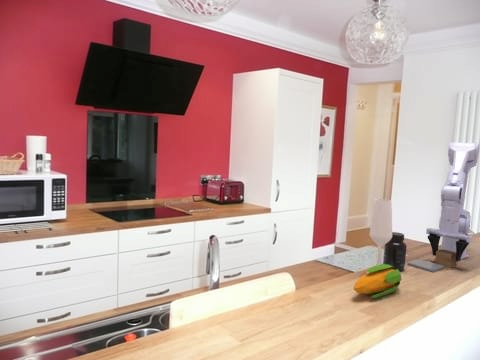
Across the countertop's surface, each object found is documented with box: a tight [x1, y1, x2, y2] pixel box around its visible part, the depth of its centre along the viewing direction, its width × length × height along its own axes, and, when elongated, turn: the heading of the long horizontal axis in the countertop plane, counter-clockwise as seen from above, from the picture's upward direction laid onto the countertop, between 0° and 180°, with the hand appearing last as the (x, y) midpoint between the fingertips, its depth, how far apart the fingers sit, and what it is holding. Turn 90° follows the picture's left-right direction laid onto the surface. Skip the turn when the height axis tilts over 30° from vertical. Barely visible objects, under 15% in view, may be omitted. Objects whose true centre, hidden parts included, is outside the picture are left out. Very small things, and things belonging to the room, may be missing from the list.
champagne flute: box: [367, 198, 393, 273], centre depth 119 cm, size 7×7×24 cm
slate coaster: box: [406, 258, 446, 273], centre depth 131 cm, size 8×9×1 cm
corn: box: [353, 263, 402, 299], centre depth 105 cm, size 7×8×20 cm
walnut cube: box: [434, 249, 458, 269], centre depth 134 cm, size 5×5×5 cm
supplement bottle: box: [382, 231, 407, 272], centre depth 128 cm, size 7×7×12 cm
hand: (446, 258), depth 134 cm, fingers open, 7 cm apart
